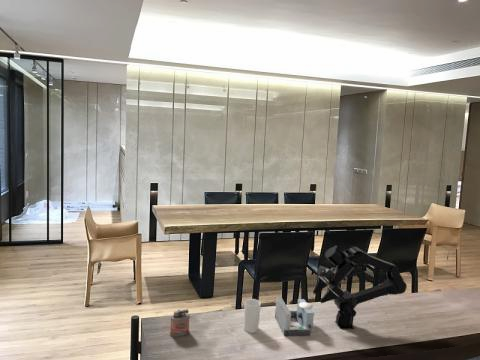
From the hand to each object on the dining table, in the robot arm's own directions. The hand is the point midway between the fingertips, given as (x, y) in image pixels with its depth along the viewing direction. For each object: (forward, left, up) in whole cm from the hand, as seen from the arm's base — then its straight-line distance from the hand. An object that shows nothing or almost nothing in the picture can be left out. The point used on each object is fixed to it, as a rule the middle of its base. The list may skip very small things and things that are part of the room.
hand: (317, 297), depth 176 cm
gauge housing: (+11, 0, -13) cm, 17 cm away
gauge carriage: (+5, +1, -13) cm, 14 cm away
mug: (+29, 0, -13) cm, 32 cm away
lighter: (+59, +4, -13) cm, 61 cm away
